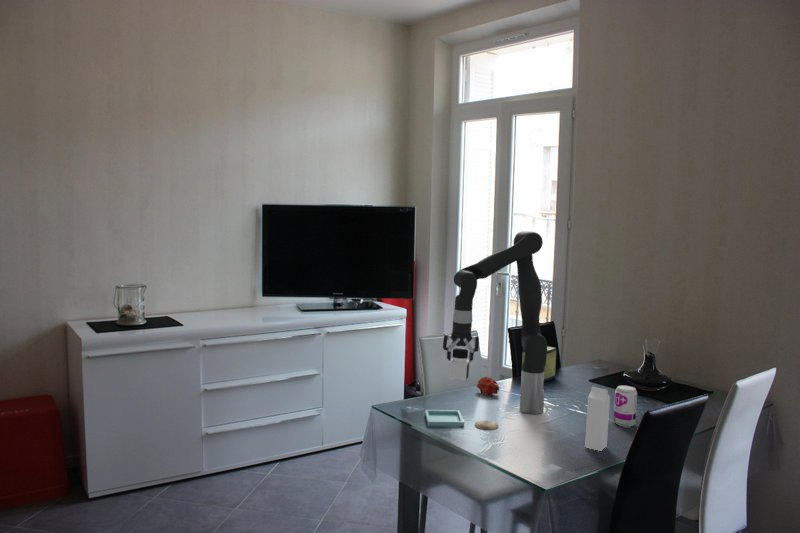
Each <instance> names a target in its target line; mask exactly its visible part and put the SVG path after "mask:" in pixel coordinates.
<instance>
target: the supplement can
mask: <svg viewBox="0 0 800 533" xmlns="http://www.w3.org/2000/svg"><path fill="white" fill-rule="evenodd" d="M637 401H638V391H637V388H636V387H635V386H630V385H626V384H625V385H622V384H620V385H618V386H617V387H616V389H615V393H614V406H613V421H614V422H613V423H614V424H615V423H616V424H619V425H622V426H633V425H634V426H635V425H636V414H637V403H638V402H637ZM616 424H615V425H616ZM634 426H633V427H634Z"/></svg>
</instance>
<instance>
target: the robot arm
mask: <svg viewBox="0 0 800 533" xmlns="http://www.w3.org/2000/svg"><path fill="white" fill-rule="evenodd" d="M543 245H544V244H543V238H542V235H540V234H539V233H537V232H535V231H527V230H526V231H523V230H521V231H519V232H518V233H516V234H515V235H514V238H513V245H511V246H510V247H508V248H505V249H503V250H501V251H497V252H494V253H493V254H490V255H488V256H485V258H483V259H481V260H479V261H478V262H477V263H474V264H471V265H469V266H466V267H464V268H462V269H459V270H458V271H457V272H456V273H455V274H454V276H453V283H454V285H455V286H456V287H458V288H460V290H459V293H458V294H457V295H456V296H455V297H454V298H455V299H454V310H453V317H452V327H451V328H452V330H451V334H447V333H444V334H443V341H442V349H443V351H444V350H445V351H446V359H447V360H448V361H449V362H450V361H451V360H452V351H453V349H455V348H456V347H467V348H468V349H469V351H468V355H469V356H468V360H469V363H471V362H472V361H473V360H474V353H475V352H479V348H480V347H479V344H480V341H479V340H480V338H479V335H475V336H474V335H473V336H472V325H473V304H474V303H473V302H474V297H475V294H476V292H477V291H476V290H477V287H478V280H480V279H481V280H482V279H483V280H484V279H486V278H488V277H490V276H492V275H493V274H495V273H497V272H499V271H500V270H502V269H503V268H505V267H507V266H509V265H511V264H512V263H515V262H516V268H517V281H518V284H517V285H518V299H519V307H520V308H519V309H520V314H521V346H522V349H525V355H524V362H523V363H522V362H521V377H520V378H521V380H520V394H519V395H520V396H519V411H520V412H522V413H525V414H528V415H529V414H531V415H538V414H543V413H544V407H545V406H544V405H545V390H544V383H545V382H544V368H545V365H546V358H547V346H548V341H547V339H546V337H545V336H543V335H542V330H541V326H540V315H541V309H542V304H543V302H542V301H543V295H542V294H543V293H542V292H543V291H542V284H541V280H540V278H539V275H538V273H537V272H536V269H535V267H534V260H533V259H534V258H533V255H534V254H537V253H538V252H540V250H542V247H543ZM450 339H451V342H450V344H449V345H448V344H447V343H448V341H449V340H450ZM472 340H473V342H474V347H472V346H471V344H470V342H471V341H472ZM455 346H456V347H455Z"/></svg>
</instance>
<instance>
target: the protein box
mask: <svg viewBox="0 0 800 533" xmlns="http://www.w3.org/2000/svg"><path fill="white" fill-rule="evenodd" d="M524 355H525V349H524V348H522V362H521V364H522V363H523V362H524ZM556 360H557V347H554V346H549V345H547V358H546V365H545V368H544V383H545V382H548V381H550V379H551V380H553V378H554V379H555V378H556V367H557V366H556V363H557V362H556Z"/></svg>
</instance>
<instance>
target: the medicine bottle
mask: <svg viewBox="0 0 800 533" xmlns="http://www.w3.org/2000/svg"><path fill="white" fill-rule="evenodd" d="M468 355H469V351H468V349H466V348H464V347H454V348H452V356H451V360H450V361H449V371H448V380H451V381H452V380H453V381H463V382H467V381H468V378H469V375H470V362H469V356H468Z"/></svg>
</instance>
